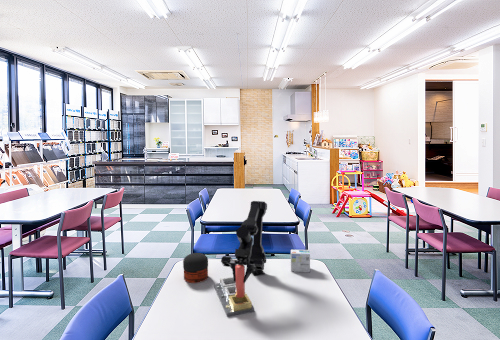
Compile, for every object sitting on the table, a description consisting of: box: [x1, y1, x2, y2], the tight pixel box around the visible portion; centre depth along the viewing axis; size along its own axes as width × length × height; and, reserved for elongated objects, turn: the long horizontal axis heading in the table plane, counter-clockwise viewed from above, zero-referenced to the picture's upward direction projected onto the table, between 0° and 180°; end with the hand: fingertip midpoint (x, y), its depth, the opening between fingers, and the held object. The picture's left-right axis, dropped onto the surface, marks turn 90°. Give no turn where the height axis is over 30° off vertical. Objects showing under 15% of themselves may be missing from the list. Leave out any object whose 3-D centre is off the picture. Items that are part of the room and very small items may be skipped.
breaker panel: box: [213, 276, 255, 317], centre depth 143 cm, size 27×12×4 cm, turn 18°
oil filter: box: [182, 252, 209, 284], centre depth 164 cm, size 13×12×13 cm
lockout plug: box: [235, 264, 246, 298], centre depth 134 cm, size 4×4×13 cm
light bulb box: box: [290, 249, 311, 273], centre depth 173 cm, size 11×7×11 cm, turn 84°
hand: (239, 282), depth 132 cm, fingers closed on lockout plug, 4 cm apart
